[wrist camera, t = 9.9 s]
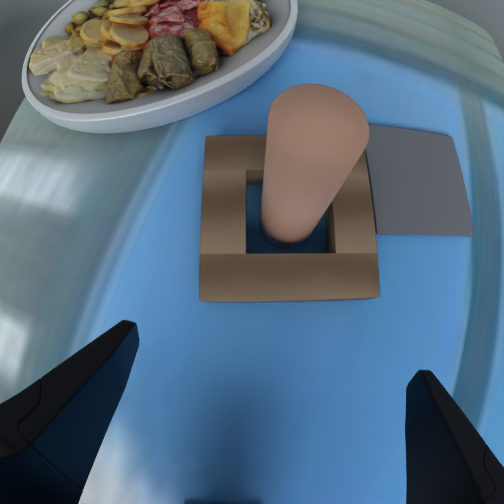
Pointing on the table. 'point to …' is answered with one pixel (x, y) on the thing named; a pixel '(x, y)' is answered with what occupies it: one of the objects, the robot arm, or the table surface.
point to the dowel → (307, 158)
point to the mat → (416, 183)
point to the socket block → (280, 265)
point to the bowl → (150, 59)
